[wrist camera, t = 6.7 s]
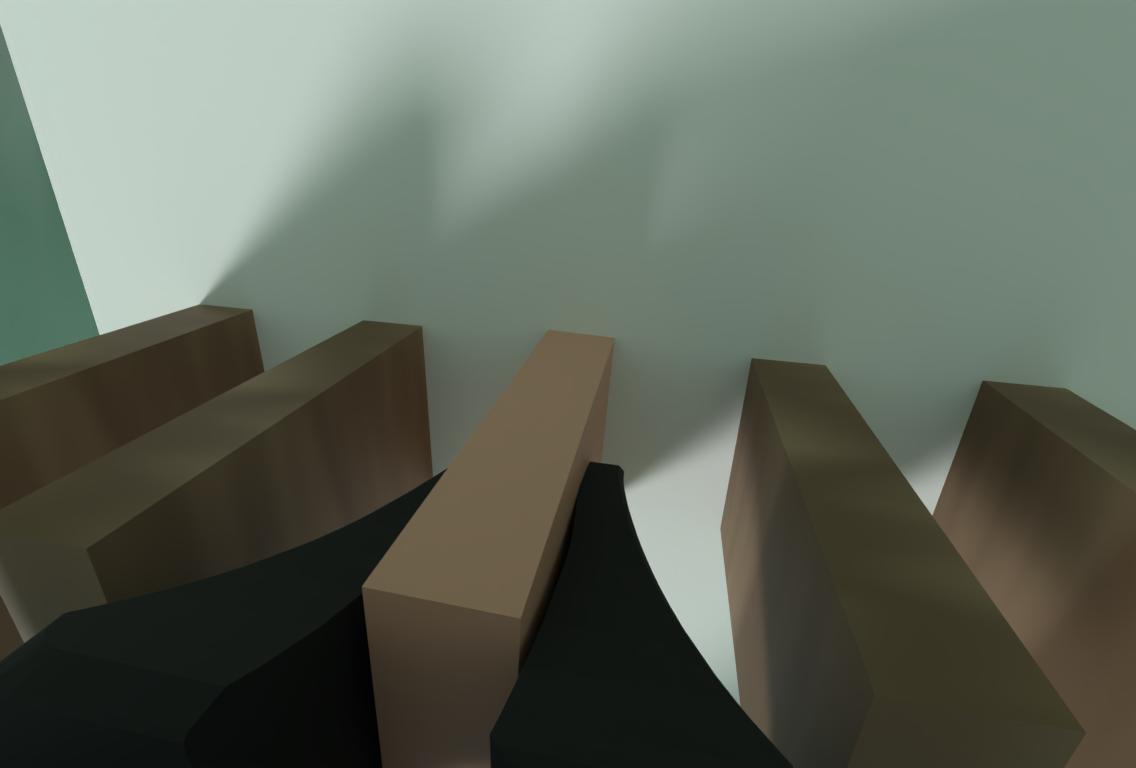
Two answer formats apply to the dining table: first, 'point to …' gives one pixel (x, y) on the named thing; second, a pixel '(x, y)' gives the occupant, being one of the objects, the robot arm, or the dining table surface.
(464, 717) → the domino
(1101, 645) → the domino
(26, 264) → the dining table surface
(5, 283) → the dining table surface
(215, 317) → the domino
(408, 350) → the domino
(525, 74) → the white flat board
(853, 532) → the domino
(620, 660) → the robot arm
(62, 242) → the dining table surface
